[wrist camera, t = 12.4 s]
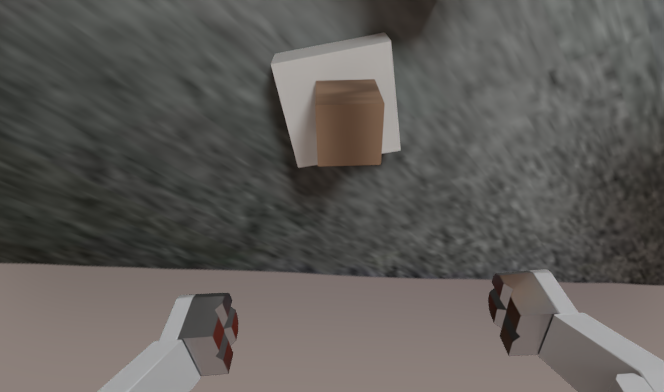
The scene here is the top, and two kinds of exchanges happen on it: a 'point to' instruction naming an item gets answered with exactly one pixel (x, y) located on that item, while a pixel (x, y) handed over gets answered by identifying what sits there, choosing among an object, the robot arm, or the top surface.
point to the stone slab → (333, 64)
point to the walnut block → (349, 122)
